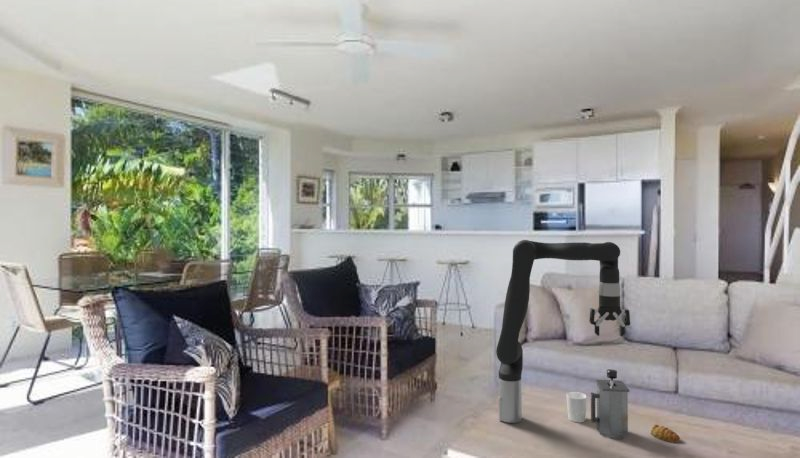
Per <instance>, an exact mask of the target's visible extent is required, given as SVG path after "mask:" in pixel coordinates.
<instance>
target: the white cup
mask: <svg viewBox="0 0 800 458" xmlns="http://www.w3.org/2000/svg"><path fill="white" fill-rule="evenodd" d="M565 396H566V409H567V416H568V417H567V419H568V420H569V421H571V422H572V423H573V422H574V423H584V422H585V421H586V416H587V415H586V414H587V400H588V399H587V398H588V397H587V395H586V394H585V393H583V392H580V391H570V392H566V395H565Z"/></svg>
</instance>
